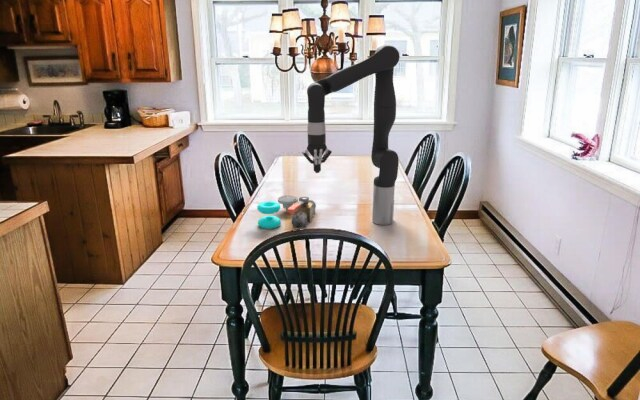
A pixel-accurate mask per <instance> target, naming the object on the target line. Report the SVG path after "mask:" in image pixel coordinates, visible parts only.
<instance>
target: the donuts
mask: <svg viewBox="0 0 640 400" xmlns="http://www.w3.org/2000/svg"><path fill="white" fill-rule="evenodd" d="M256 209H257V211H258V212H259V213H260V214H263V215H264V216H262V217H260V218H259V219H258V221H257V225H258V227H260V228H262V229H265V230H267V229H269V230H271V229H276V228H278V227H280V226H281V223H282V221H281V218H279V217H278V216H275V215H273V214H275V213H278V212H279V211H280V209H281V204H280V203H279V202H278V201H271V200H270V201H267V200H266V201H262V202H260V203H258V205H257V207H256Z"/></svg>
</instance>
